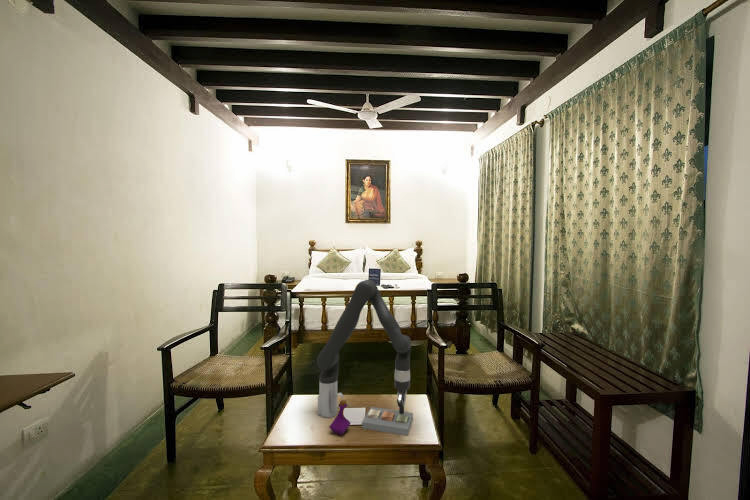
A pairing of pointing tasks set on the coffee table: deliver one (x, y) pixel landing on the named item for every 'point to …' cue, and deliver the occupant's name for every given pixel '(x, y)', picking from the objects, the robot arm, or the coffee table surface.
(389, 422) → the tile board
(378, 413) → the cream tile
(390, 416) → the terracotta tile
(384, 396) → the coffee table surface
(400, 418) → the sage tile
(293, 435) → the coffee table surface
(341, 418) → the perfume bottle
